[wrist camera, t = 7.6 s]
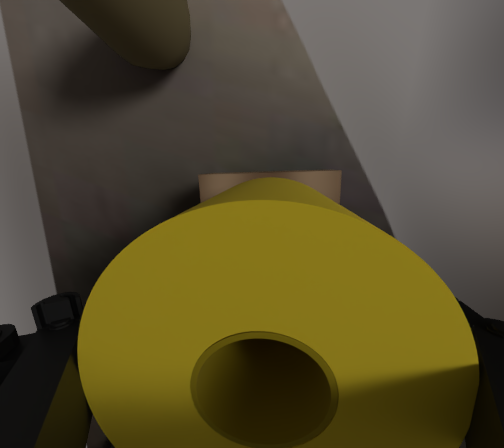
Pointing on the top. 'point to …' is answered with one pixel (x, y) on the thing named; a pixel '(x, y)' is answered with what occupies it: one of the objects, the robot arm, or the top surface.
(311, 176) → the tower block top
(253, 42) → the top surface
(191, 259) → the yellow toilet paper roll
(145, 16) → the squeeze bottle
